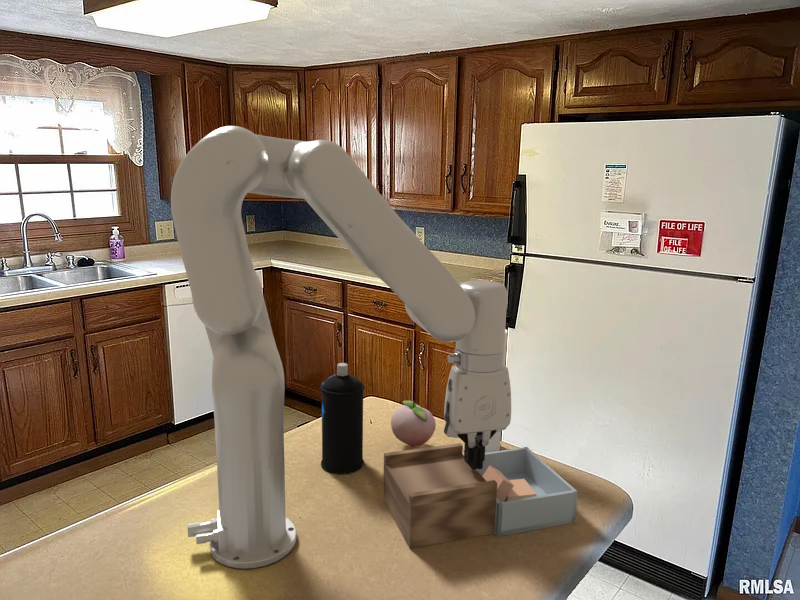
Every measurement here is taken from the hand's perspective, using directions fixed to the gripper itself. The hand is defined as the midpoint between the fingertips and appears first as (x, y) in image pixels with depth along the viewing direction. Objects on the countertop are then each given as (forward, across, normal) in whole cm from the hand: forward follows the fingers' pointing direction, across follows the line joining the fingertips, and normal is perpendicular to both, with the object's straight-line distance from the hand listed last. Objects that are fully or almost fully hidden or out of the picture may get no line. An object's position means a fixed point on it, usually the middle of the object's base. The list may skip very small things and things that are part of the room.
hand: (473, 465), depth 96 cm
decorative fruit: (+8, -2, +24) cm, 25 cm away
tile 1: (+4, +3, 0) cm, 5 cm away
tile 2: (+5, +8, -1) cm, 9 cm away
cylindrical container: (+8, +12, +20) cm, 25 cm away
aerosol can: (+8, -17, +21) cm, 28 cm away
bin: (+8, +8, 0) cm, 11 cm away
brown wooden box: (+8, -6, 0) cm, 10 cm away
